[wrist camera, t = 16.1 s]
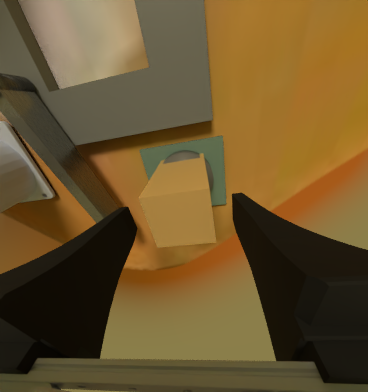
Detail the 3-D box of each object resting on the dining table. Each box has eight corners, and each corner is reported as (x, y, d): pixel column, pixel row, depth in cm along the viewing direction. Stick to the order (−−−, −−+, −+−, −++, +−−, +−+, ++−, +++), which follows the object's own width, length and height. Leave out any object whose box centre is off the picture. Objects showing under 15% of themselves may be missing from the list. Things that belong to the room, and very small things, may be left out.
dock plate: (56, 147, 15) (46, 150, 14) (-90, -112, 8) (-130, -142, 7) (211, 118, 13) (212, 119, 12) (181, -256, 6) (178, -326, 5)
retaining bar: (11, 82, 12) (-42, 75, 9) (24, 72, 11) (-27, 63, 9) (125, 229, 18) (113, 250, 16) (135, 226, 18) (125, 246, 15)
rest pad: (159, 209, 18) (158, 211, 18) (140, 149, 15) (139, 150, 15) (225, 202, 17) (226, 203, 17) (222, 135, 14) (222, 136, 13)
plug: (166, 201, 17) (151, 254, 11) (153, 155, 15) (124, 190, 9) (214, 195, 16) (226, 247, 10) (209, 145, 14) (220, 176, 8)
